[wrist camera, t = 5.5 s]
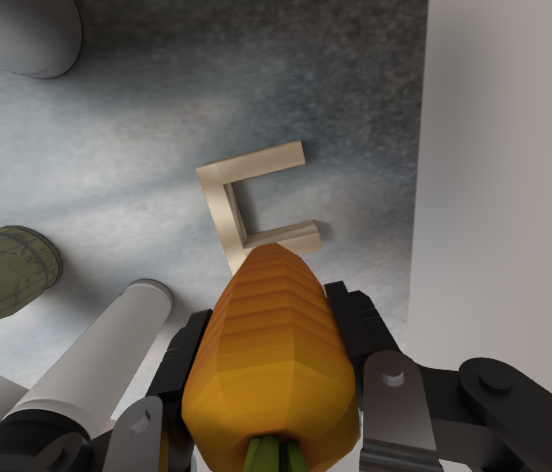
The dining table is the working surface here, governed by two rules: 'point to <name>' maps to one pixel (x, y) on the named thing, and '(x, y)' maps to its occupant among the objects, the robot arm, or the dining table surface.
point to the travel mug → (86, 377)
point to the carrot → (272, 373)
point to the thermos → (25, 267)
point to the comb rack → (227, 212)
